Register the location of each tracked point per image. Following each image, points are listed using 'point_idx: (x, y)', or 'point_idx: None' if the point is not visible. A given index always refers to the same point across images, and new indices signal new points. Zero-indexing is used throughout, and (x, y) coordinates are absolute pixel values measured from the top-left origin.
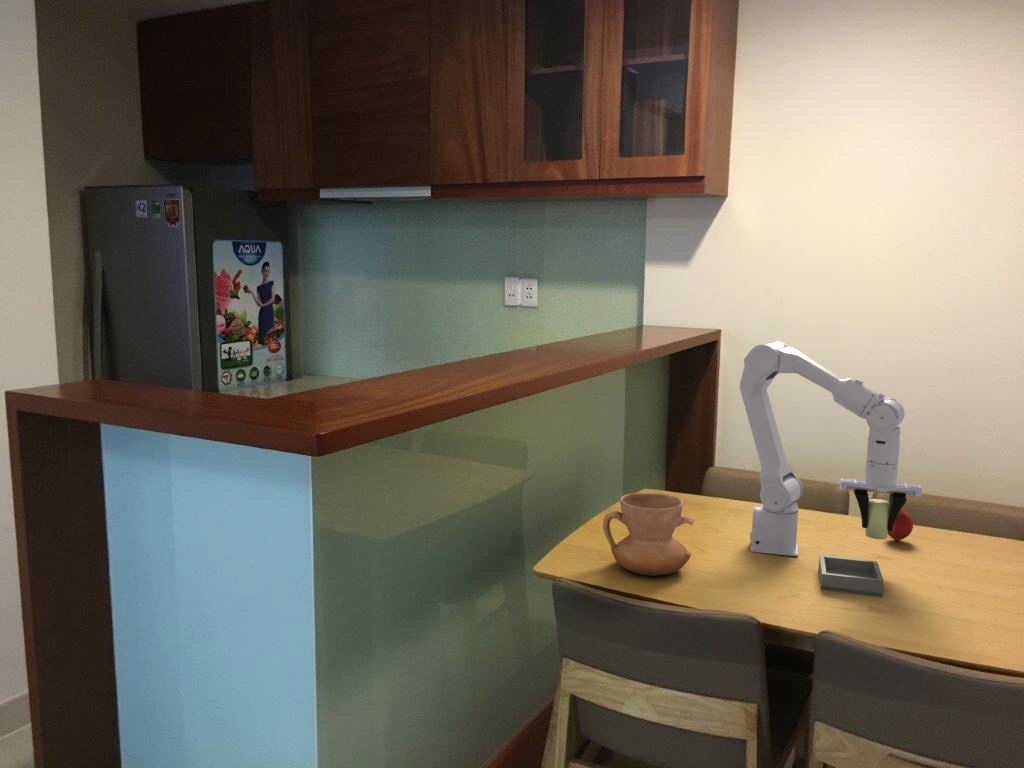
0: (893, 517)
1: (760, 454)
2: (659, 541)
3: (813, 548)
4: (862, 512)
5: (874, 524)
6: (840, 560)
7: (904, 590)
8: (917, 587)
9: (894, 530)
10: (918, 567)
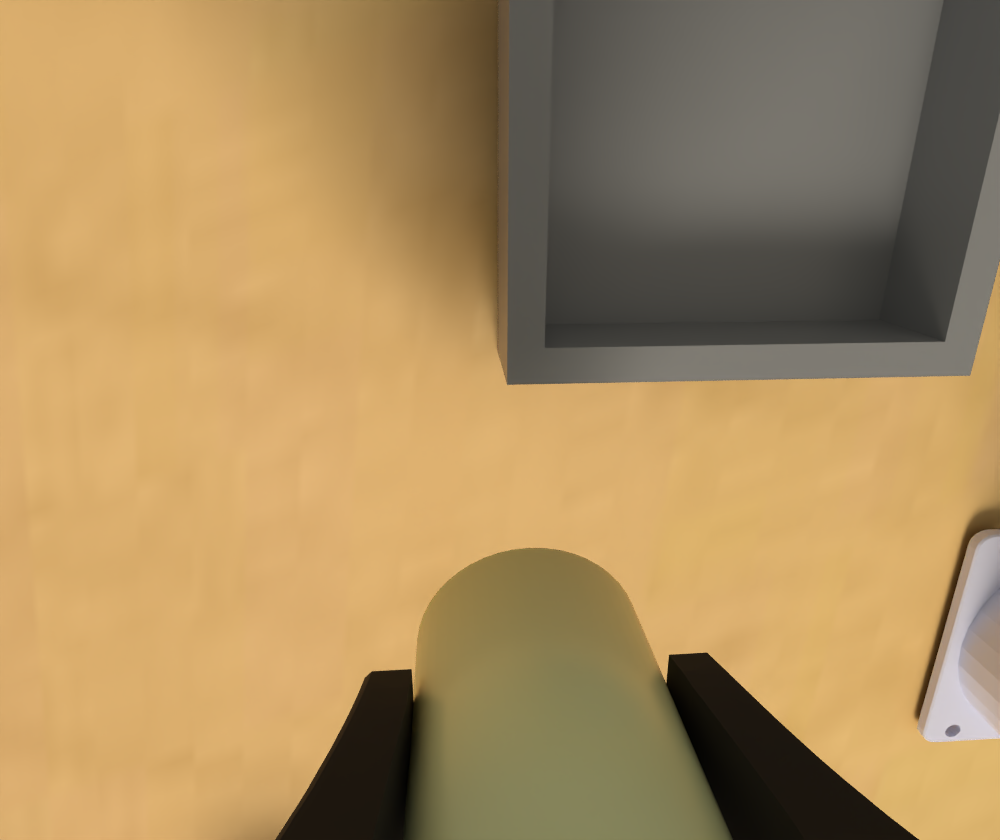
0: (329, 819)
1: None
2: None
3: (823, 712)
4: (873, 817)
5: (607, 671)
6: (803, 339)
7: (305, 90)
8: (204, 203)
9: None
10: (200, 617)
